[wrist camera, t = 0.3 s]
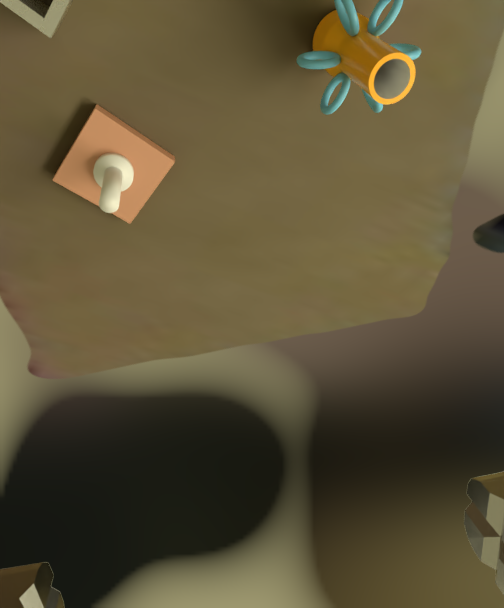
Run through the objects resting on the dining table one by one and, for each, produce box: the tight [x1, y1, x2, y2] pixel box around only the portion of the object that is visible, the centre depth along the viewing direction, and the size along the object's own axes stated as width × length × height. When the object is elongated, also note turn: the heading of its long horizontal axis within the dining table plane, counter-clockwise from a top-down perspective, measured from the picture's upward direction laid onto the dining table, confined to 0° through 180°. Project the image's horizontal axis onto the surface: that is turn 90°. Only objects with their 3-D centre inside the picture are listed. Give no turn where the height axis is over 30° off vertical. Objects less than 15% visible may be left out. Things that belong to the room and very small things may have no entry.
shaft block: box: [53, 104, 175, 223], centre depth 51 cm, size 10×10×10 cm
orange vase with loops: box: [297, 0, 421, 115], centre depth 45 cm, size 12×10×15 cm
